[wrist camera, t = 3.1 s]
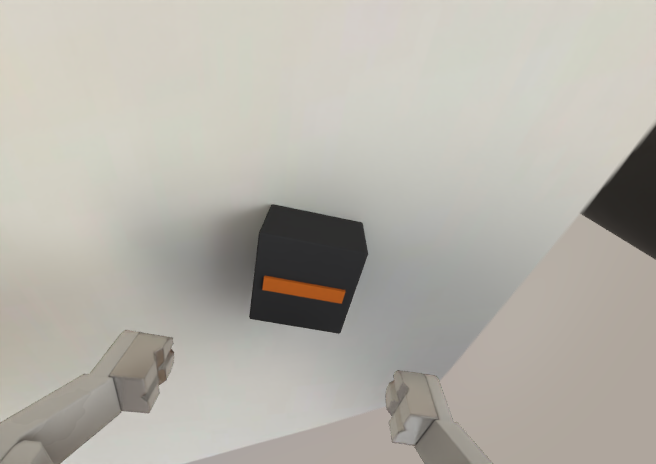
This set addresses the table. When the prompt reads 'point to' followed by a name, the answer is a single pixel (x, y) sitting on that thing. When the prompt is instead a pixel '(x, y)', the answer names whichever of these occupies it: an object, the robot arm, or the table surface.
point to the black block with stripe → (306, 269)
